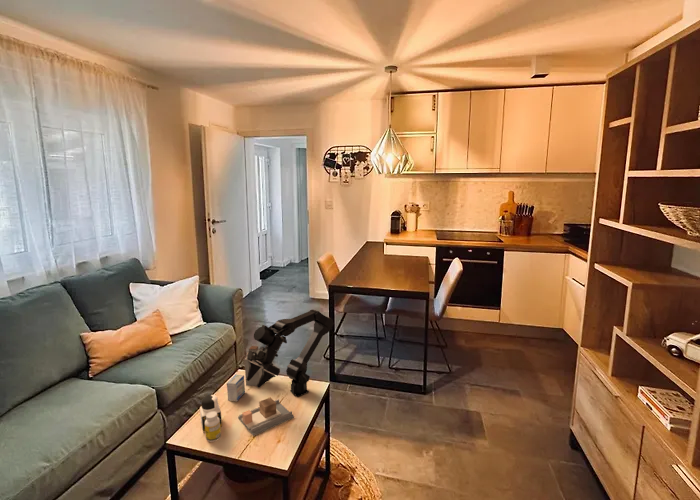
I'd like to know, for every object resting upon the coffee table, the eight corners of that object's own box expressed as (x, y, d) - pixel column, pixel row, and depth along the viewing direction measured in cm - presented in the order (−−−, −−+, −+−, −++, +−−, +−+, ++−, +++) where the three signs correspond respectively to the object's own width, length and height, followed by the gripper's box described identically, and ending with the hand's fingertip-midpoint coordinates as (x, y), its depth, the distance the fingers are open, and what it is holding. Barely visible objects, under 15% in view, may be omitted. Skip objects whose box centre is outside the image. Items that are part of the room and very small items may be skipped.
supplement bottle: (205, 434, 145) (203, 411, 143) (220, 431, 147) (218, 408, 145) (206, 443, 140) (204, 420, 138) (221, 440, 142) (219, 416, 140)
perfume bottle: (251, 378, 186) (249, 344, 183) (264, 379, 185) (263, 344, 182) (246, 385, 180) (244, 350, 177) (259, 386, 179) (257, 351, 176)
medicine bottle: (203, 432, 146) (200, 404, 144) (200, 422, 152) (198, 395, 150) (222, 427, 149) (220, 399, 147) (219, 417, 156) (217, 391, 153)
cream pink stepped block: (272, 407, 161) (272, 397, 160) (280, 415, 155) (280, 404, 154) (240, 420, 152) (239, 410, 151) (247, 429, 146) (247, 418, 145)
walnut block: (270, 408, 159) (270, 397, 158) (276, 413, 155) (276, 402, 154) (259, 412, 156) (259, 401, 155) (265, 418, 152) (264, 407, 151)
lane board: (277, 402, 166) (277, 397, 165) (293, 417, 155) (293, 412, 155) (238, 418, 155) (238, 413, 154) (253, 436, 144) (252, 431, 144)
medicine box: (236, 401, 166) (235, 384, 165) (227, 400, 167) (226, 382, 166) (245, 392, 174) (244, 375, 172) (236, 391, 175) (235, 374, 173)
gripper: (247, 336, 161) (227, 370, 156) (268, 346, 147) (247, 384, 142) (266, 346, 168) (248, 379, 162) (288, 357, 153) (269, 394, 148)
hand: (252, 384), depth 154 cm, fingers open, 9 cm apart
